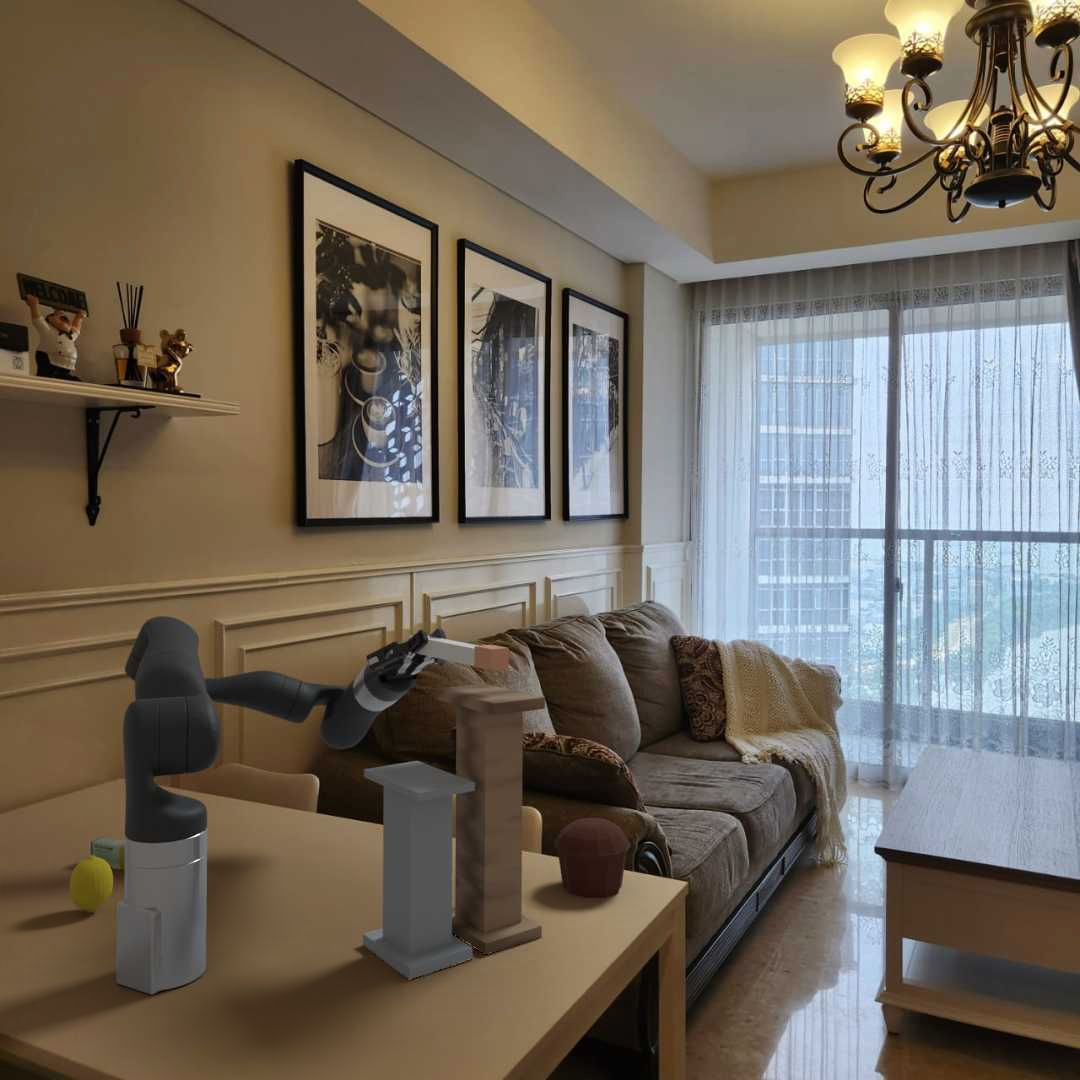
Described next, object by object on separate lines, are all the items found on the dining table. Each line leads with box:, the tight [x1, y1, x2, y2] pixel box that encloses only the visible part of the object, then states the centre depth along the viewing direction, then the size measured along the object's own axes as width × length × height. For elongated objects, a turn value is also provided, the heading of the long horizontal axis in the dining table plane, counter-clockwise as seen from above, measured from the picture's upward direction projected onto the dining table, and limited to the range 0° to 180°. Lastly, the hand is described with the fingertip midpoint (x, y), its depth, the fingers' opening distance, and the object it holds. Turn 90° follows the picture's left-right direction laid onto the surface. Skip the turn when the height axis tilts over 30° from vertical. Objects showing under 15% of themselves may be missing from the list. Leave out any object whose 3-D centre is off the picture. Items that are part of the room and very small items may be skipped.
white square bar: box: [408, 635, 510, 671], centre depth 132 cm, size 22×3×3 cm, turn 38°
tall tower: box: [436, 683, 546, 955], centre depth 125 cm, size 14×9×32 cm, turn 38°
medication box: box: [90, 836, 125, 870], centre depth 148 cm, size 12×3×4 cm, turn 69°
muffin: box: [553, 817, 632, 899], centre depth 141 cm, size 12×11×10 cm
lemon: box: [68, 854, 114, 914], centre depth 130 cm, size 6×6×8 cm
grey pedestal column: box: [362, 760, 475, 980], centre depth 118 cm, size 14×9×22 cm, turn 38°
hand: (433, 634), depth 136 cm, fingers closed on white square bar, 2 cm apart
